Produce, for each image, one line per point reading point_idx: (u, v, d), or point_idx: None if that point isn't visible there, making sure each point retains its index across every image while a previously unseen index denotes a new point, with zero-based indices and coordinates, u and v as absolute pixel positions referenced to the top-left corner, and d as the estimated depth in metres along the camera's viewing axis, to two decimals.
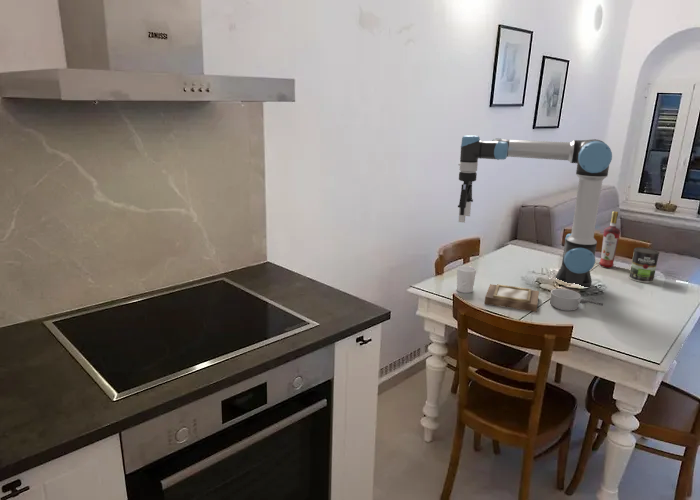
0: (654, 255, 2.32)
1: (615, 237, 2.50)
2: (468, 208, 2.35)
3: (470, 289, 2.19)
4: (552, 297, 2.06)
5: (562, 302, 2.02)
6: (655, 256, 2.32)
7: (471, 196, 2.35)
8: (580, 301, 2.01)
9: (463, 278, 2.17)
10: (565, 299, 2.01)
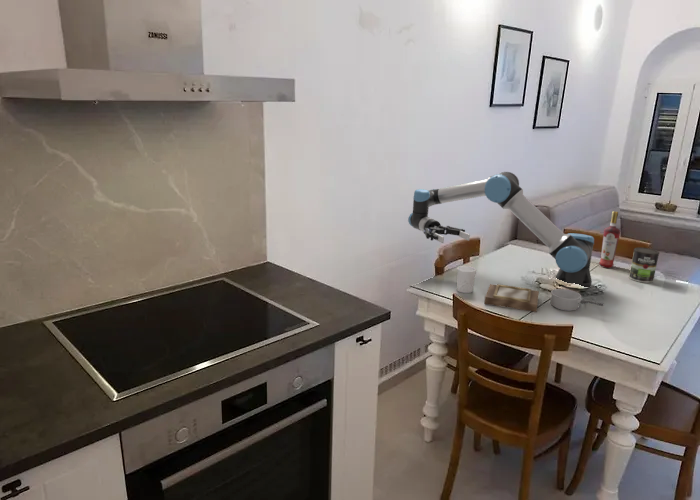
0: (654, 255, 2.32)
1: (615, 237, 2.50)
2: (463, 234, 2.30)
3: (470, 289, 2.19)
4: (552, 297, 2.06)
5: (562, 302, 2.02)
6: (655, 256, 2.32)
7: (460, 229, 2.36)
8: (580, 301, 2.01)
9: (463, 278, 2.17)
10: (565, 299, 2.01)
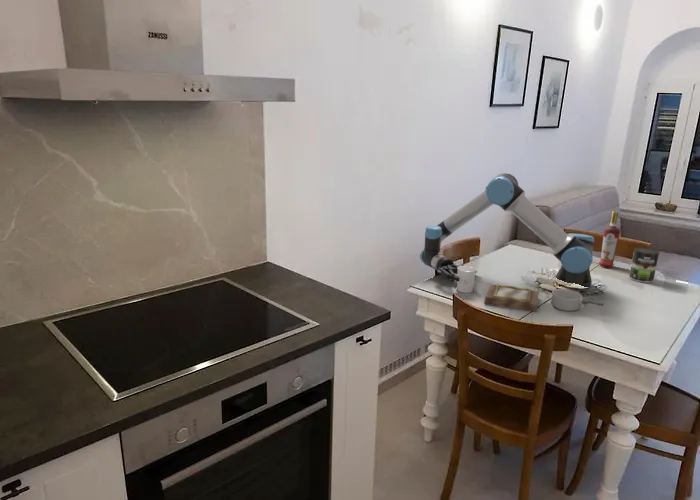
0: (654, 255, 2.32)
1: (615, 237, 2.50)
2: None
3: (470, 289, 2.19)
4: (553, 297, 2.06)
5: (563, 302, 2.02)
6: (655, 256, 2.32)
7: None
8: (581, 301, 2.01)
9: None
10: (566, 300, 2.01)
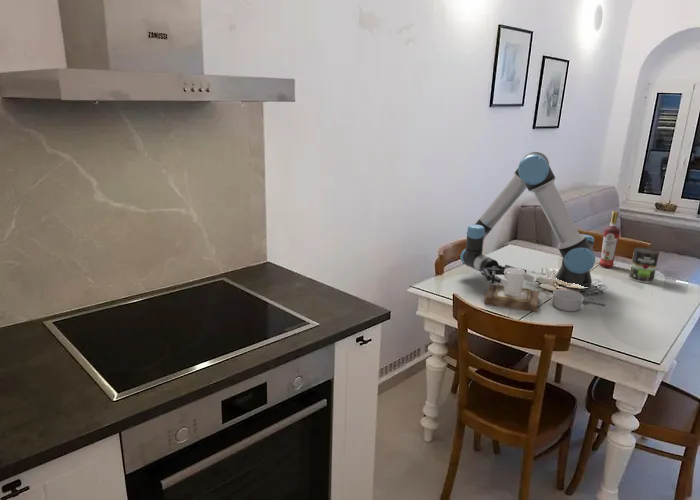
0: (654, 255, 2.32)
1: (615, 237, 2.50)
2: (526, 275, 2.12)
3: (518, 292, 2.08)
4: (554, 298, 2.05)
5: (564, 302, 2.01)
6: (655, 256, 2.32)
7: None
8: (582, 302, 2.01)
9: (512, 281, 2.06)
10: (567, 300, 2.01)
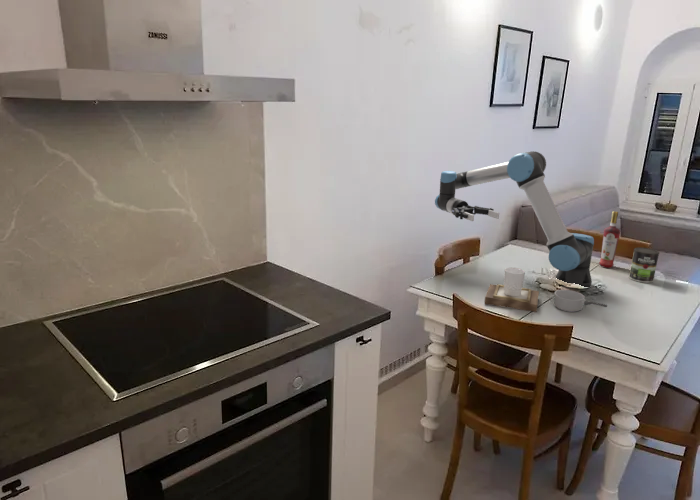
0: (654, 255, 2.32)
1: (615, 237, 2.50)
2: (492, 213, 2.31)
3: (518, 292, 2.08)
4: (556, 298, 2.05)
5: (566, 303, 2.01)
6: (655, 256, 2.32)
7: (488, 209, 2.36)
8: (584, 302, 2.00)
9: (512, 281, 2.06)
10: (569, 300, 2.00)
